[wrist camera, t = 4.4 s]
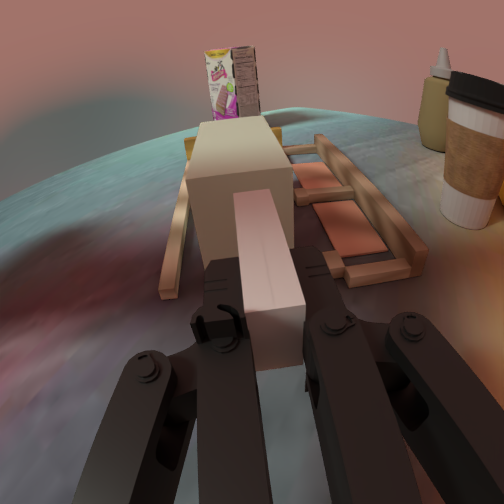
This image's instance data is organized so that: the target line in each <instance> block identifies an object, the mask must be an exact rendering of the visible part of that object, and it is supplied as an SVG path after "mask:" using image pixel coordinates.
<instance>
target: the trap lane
mask: <svg viewBox="0 0 504 504" xmlns="http://www.w3.org/2000/svg"><path fill="white" fill-rule="evenodd" d="M271 130H272V132H273V133H274V135H275V137H276V139H277V140H278V142H279V144H280V146H281V147H282V149H283V151H284V153H285V154H286V155H294V154H308V153H317V154H318V155H319V156H320V158H321V159H322V160H323V161H324V162H325V164H326V165H327V166H328V167H329V168H330V170H331V171H332V172H333V173H334V175H335V176H336V177H337V178H338V180H339V181H340V182H341V183H342V185H343V186H342V185H341V184H340V183H339V181H338V180H337V179H336V177H335V176H334V175H333V174H332V172H331V171H330V170H329V169H328V167H327V166H326V165H325V164H324V162H315V163H302V164H291V165H292V167H293V171H294V173H295V174H296V176H297V178H298V180H299V182H300V184H301V185H302V187H303V188H296V189H293V198H294V200H295V202H296V204H297V206H304V205H309V203H315V202H325V201H336V200H347V199H354V200H355V202H356V203H357V204H358V206H359V207H360V208H361V210H362V211H363V212H364V214H365V215H366V216H367V218H368V219H369V221H370V222H371V223H372V225H373V226H374V227H375V229H376V230H377V232H378V233H379V235H380V236H381V237H382V239H383V240H384V242H385V243H386V245H387V246H388V248H389V249H390V250H391V252H392V253H393V255H394V256H395V258H396V259H393V260H387V261H380V262H374V263H367V264H360V265H353V266H346V267H345V265H344V263H343V261H342V259H341V258H344V257H352V256H359V255H366V254H373V253H380V252H387V251H388V248H387V247H386V246H385V244H384V243H383V241H382V240H381V238H380V237H379V235H378V234H377V233H376V231H375V230H374V228H373V227H372V225H371V224H370V223H369V221H368V220H367V218H366V217H365V216H364V214H363V213H362V212H361V210H360V209H359V208H358V206H357V205H356V204H355V202H354V201H353V200H349V201H338V202H327V203H317V204H312V206H313V208H314V210H315V212H316V214H317V216H318V218H319V219H320V221H321V223H322V225H323V227H324V229H325V231H326V233H327V235H328V237H329V239H330V241H331V243H332V245H333V247H334V249H335V250H334V251H326V252H322V254H323V256H324V258H325V260H326V263H327V266H328V267H329V269H330V272H331V275H332V276H333V279H334V278H341V277H344V279H345V281H346V283H347V285H348V287H349V288H353V287H359V286H365V285H371V284H377V283H382V282H388V281H394V280H399V279H405V278H410V277H415V276H421V274H422V271H423V268H424V265H425V261H426V258H427V255H428V251H429V249H428V247H427V246H426V245H425V244H424V242H423V241H422V240H421V239H420V238H419V236H418V235H417V234H416V233H415V231H414V230H413V229H412V228H411V227H410V225H409V224H408V223H407V222H406V221H405V220H404V218H403V217H402V216H401V215H400V214H399V213H398V212H397V210H396V209H395V208H394V207H393V206H392V205H391V204H390V202H389V201H388V200H387V199H386V198H385V197H384V196H383V195H382V194H381V193H380V191H379V190H378V189H377V188H376V187H375V186H374V185H373V184H372V183H371V182H370V181H369V180H368V179H367V178H366V177H365V176H364V175H363V174H362V172H361V171H360V170H359V169H358V168H357V167H356V166H355V165H354V164H353V163H352V162H351V161H350V160H349V159H348V158H347V157H346V156H345V155H344V154H343V153H342V152H341V151H339V150H338V149H337V148H336V147H335V146H334V145H333V144H332V143H331V142H330V141H329V140H328V139H327V138H326V137H325V136H324V135H323V134H314V144H307V145H292V146H282V131H281V128H280V127H272V128H271ZM196 137H197V136H196ZM196 137H189V138H185V139H184V144H185V149H186V155H187V164H186V168H185V172H184V175H183V179H182V183H181V187H180V191H179V195H178V199H177V203H176V207H175V211H174V216H173V220H172V224H171V229H170V233H169V238H168V242H167V247H166V252H165V257H164V261H163V266H162V271H161V277H160V282H159V287H158V291H159V294H160V297H161V299H162V300H165V299H175V298H177V297H178V289H179V280H180V272H181V265H182V257H183V250H184V243H185V236H186V229H187V222H188V216H189V209H190V201H189V196H188V191H187V186H186V181H185V179H186V175H187V171H188V167H189V163H190V159H191V155H192V152H193V148H194V144H195V141H196Z"/></svg>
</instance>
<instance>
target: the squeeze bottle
mask: <svg viewBox="0 0 504 504" xmlns="http://www.w3.org/2000/svg"><path fill="white" fill-rule="evenodd" d="M451 71H453V70H451V66H450V61H449V56H448V51H447V49H446V48H440V52H439V56H438V60H437V64H436V66H430V75H433V77H428V78H426V79H425V81H424V88H423V95H422V101H421V107H420V112H419V119H418V127H419V131H420V136H421V141H422V144H423V145H424V146H426V147H428V148H430V149H433V150H436V151H441V152H445V150H446V116H447V115H448V112H449V96H448V95H446V94H445V92H446V87H447V86H448V85H449V81H450V76H451Z"/></svg>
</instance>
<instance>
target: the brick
mask: <svg viewBox="0 0 504 504" xmlns="http://www.w3.org/2000/svg"><path fill="white" fill-rule="evenodd" d="M185 181H186V186H187V191H188V196H189V201H190V206H191V210H192V215H193V220H194V225H195V229H196V234H197V238H198V243H199V247H200V252H201V256H202V260H203V265H204V269H206V267H207V266H208V264H209V263H210V261H211V260H216V259H224V258H231V257H239V251H238V241H237V230H236V219H235V209H234V198H233V193H239V192H246V191H254V190H262V189H270V192H271V195H272V198H273V201H274V204H275V207H276V210H277V213H278V216H279V220H280V223H281V226H282V229H283V232H284V235H285V238H286V241H287V245H288V248H289V249H292V248H294V202H293V167H292V165H291V163H290V162H289V160H288V158H287V156H286V154H285V153H284V151H283V149H282V147H281V146H280V144H279V142H278V140H277V139H276V137H275V135H274V133H273V132H272V130H271V128H270V127H269V125H268V123H267V122H266V120H265V118H264V117H263V115H262V116H251V117H241V118H232V119H224V120H216V121H209V122H202V123H200V126H199V130H198V133H197V137H196V141H195V144H194V148H193V152H192V155H191V159H190V163H189V167H188V171H187V175H186V179H185Z"/></svg>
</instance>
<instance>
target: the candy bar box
mask: <svg viewBox="0 0 504 504" xmlns="http://www.w3.org/2000/svg"><path fill="white" fill-rule="evenodd" d="M204 53H205V61H206V68H207V75H208V83H209V90H210V97H211V105H212V112H213V119H214V121H216V120H224V119H232V118H241V117H251V116H261V112H260V101H259V90H258V78H257V68H256V58H255V47H254V46H244V47H231V48H222V49H215V50H208V51H205V52H204Z"/></svg>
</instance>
